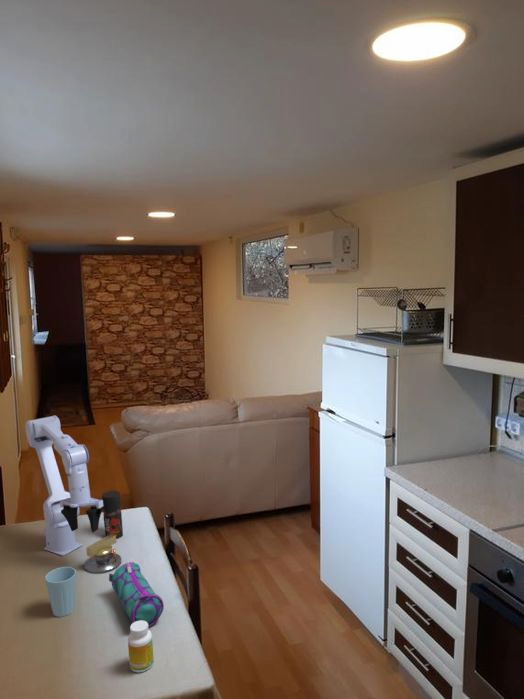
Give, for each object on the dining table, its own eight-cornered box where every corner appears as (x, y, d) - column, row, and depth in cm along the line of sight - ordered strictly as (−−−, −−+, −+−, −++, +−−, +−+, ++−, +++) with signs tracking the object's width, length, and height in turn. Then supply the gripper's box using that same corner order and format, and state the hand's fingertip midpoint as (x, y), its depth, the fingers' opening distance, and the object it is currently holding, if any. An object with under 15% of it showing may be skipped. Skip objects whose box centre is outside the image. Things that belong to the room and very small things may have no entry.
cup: (79, 599, 152) (76, 564, 150) (78, 616, 144) (75, 579, 143) (50, 605, 149) (46, 569, 148) (47, 622, 142) (44, 584, 141)
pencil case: (109, 596, 153) (107, 563, 152) (140, 586, 158) (138, 554, 156) (133, 637, 135) (130, 600, 134) (166, 624, 140) (164, 589, 138)
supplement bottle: (152, 672, 123) (149, 632, 122) (127, 674, 123) (125, 634, 121) (155, 655, 128) (152, 617, 127) (131, 657, 128) (129, 619, 127)
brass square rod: (82, 557, 167) (81, 546, 166) (107, 542, 175) (106, 532, 175) (96, 562, 164) (95, 550, 163) (121, 547, 172) (120, 536, 172)
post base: (76, 567, 168) (75, 553, 168) (104, 551, 178) (103, 537, 177) (102, 577, 163) (100, 562, 162) (128, 560, 172) (127, 545, 171)
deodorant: (125, 531, 191) (122, 490, 189) (119, 540, 185) (116, 497, 183) (109, 531, 192) (105, 490, 190) (102, 539, 186) (99, 497, 184)
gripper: (50, 490, 164) (56, 534, 165) (90, 491, 159) (95, 536, 160) (66, 483, 171) (72, 525, 172) (105, 483, 166) (110, 527, 166)
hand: (84, 530), depth 166 cm, fingers open, 7 cm apart
